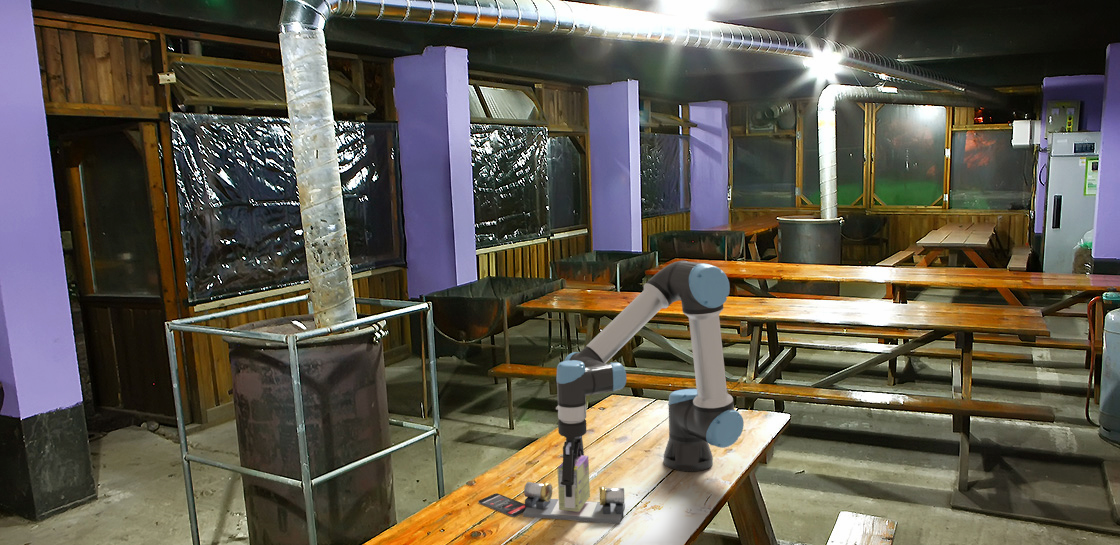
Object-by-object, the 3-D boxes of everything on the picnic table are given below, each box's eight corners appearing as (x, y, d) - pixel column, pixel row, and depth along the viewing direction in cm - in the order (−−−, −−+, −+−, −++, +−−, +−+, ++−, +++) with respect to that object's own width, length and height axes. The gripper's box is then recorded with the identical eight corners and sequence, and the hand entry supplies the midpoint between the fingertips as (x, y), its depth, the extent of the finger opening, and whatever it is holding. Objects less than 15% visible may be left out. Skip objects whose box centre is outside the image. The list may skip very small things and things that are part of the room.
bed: (624, 507, 208) (624, 503, 208) (619, 523, 198) (619, 519, 198) (532, 500, 214) (532, 497, 214) (523, 516, 204) (523, 512, 204)
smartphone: (513, 516, 204) (477, 501, 214) (513, 519, 204) (477, 503, 214) (533, 507, 209) (496, 492, 219) (533, 509, 209) (496, 495, 219)
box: (570, 494, 211) (569, 453, 210) (590, 496, 210) (589, 455, 208) (558, 510, 202) (556, 467, 200) (578, 512, 200) (577, 469, 198)
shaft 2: (624, 509, 206) (623, 483, 205) (624, 517, 202) (624, 490, 201) (600, 509, 207) (599, 483, 206) (600, 517, 202) (599, 491, 201)
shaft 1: (552, 506, 210) (552, 480, 209) (545, 513, 205) (545, 487, 204) (531, 503, 212) (530, 477, 211) (524, 510, 208) (523, 484, 207)
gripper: (567, 405, 215) (569, 480, 218) (548, 433, 192) (550, 516, 195) (593, 406, 213) (595, 481, 216) (577, 434, 191) (579, 518, 193)
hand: (574, 498), depth 205 cm, fingers closed on box, 11 cm apart
